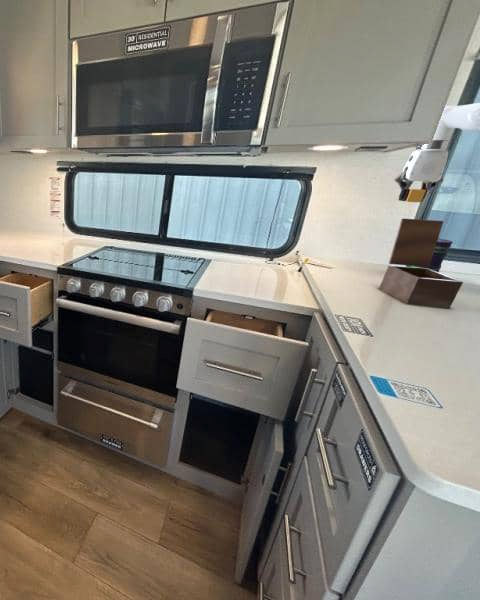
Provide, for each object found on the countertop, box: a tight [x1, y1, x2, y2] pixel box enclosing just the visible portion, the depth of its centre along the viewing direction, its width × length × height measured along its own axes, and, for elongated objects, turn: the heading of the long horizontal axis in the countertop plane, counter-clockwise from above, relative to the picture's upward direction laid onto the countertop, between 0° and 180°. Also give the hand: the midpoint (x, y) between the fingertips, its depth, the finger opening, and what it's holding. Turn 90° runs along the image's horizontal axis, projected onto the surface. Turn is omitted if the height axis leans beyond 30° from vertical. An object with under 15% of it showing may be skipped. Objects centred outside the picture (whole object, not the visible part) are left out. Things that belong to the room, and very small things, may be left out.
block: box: [398, 188, 426, 203], centre depth 121 cm, size 4×4×4 cm
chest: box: [378, 264, 464, 309], centre depth 108 cm, size 15×12×9 cm
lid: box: [388, 218, 444, 267], centre depth 111 cm, size 15×12×1 cm
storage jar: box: [405, 237, 454, 273], centre depth 132 cm, size 10×10×15 cm
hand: (410, 200), depth 122 cm, fingers closed on block, 4 cm apart
